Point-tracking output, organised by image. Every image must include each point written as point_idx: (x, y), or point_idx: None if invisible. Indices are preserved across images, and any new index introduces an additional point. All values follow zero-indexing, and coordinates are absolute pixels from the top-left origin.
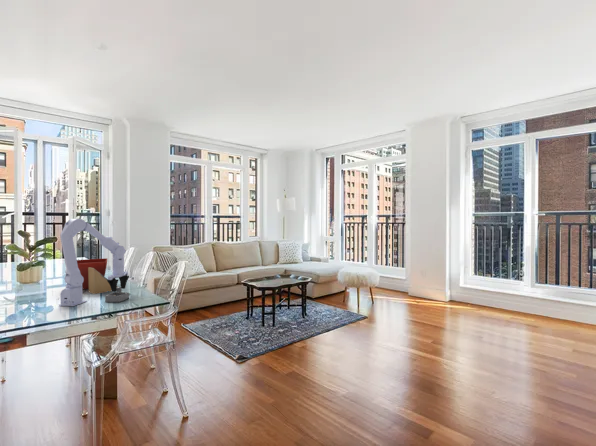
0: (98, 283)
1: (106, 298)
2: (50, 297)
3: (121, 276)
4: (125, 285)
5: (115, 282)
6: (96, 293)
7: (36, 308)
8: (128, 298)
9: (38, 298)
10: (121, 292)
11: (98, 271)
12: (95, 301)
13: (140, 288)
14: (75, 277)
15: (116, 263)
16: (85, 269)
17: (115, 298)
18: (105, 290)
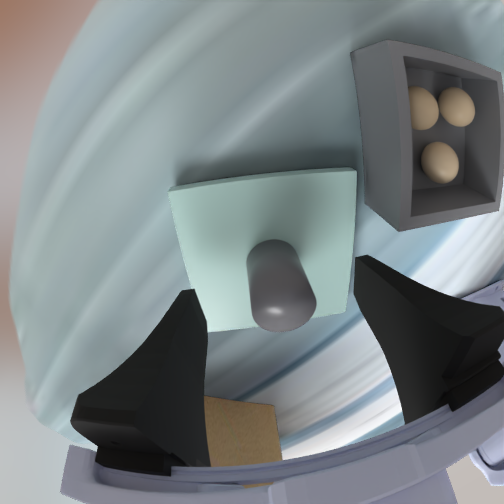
0: (259, 457)
1: (484, 188)
2: (355, 436)
3: (235, 466)
4: (173, 309)
5: (477, 304)
6: (263, 404)
7: None
8: (357, 52)
9: (366, 439)
10: (411, 135)
11: None
12: (445, 267)
13: (18, 282)
14: None
15: None
16: None
17: (487, 106)
18: (213, 406)
